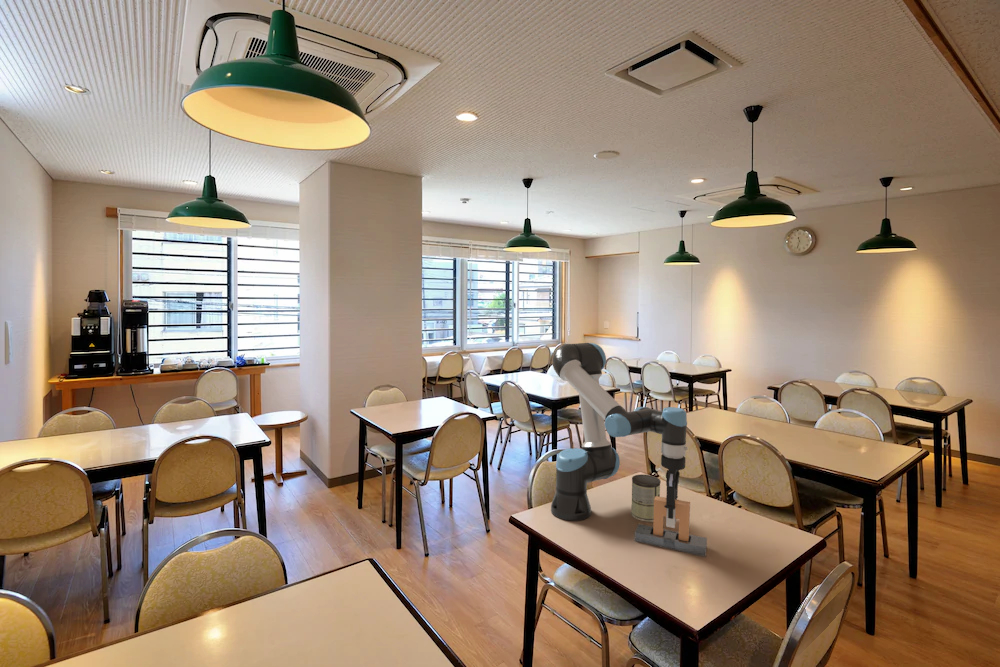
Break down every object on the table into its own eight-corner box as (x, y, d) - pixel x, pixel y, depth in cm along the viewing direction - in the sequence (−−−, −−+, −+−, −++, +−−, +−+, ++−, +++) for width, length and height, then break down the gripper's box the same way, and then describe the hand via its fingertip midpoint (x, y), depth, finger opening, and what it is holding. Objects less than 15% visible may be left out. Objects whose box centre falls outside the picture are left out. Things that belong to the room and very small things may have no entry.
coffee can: (628, 509, 186) (629, 473, 185) (655, 510, 185) (657, 474, 184) (633, 521, 176) (634, 483, 175) (662, 522, 174) (663, 485, 174)
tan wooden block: (653, 534, 160) (654, 499, 159) (654, 530, 163) (655, 496, 162) (688, 542, 155) (689, 506, 154) (689, 537, 158) (690, 502, 157)
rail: (634, 541, 161) (634, 532, 161) (638, 532, 167) (638, 523, 167) (705, 556, 151) (705, 547, 151) (706, 546, 158) (706, 538, 157)
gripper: (683, 464, 148) (680, 537, 149) (687, 449, 163) (685, 516, 164) (658, 460, 151) (655, 532, 153) (664, 446, 166) (662, 512, 168)
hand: (671, 524), depth 159 cm, fingers closed on tan wooden block, 3 cm apart
